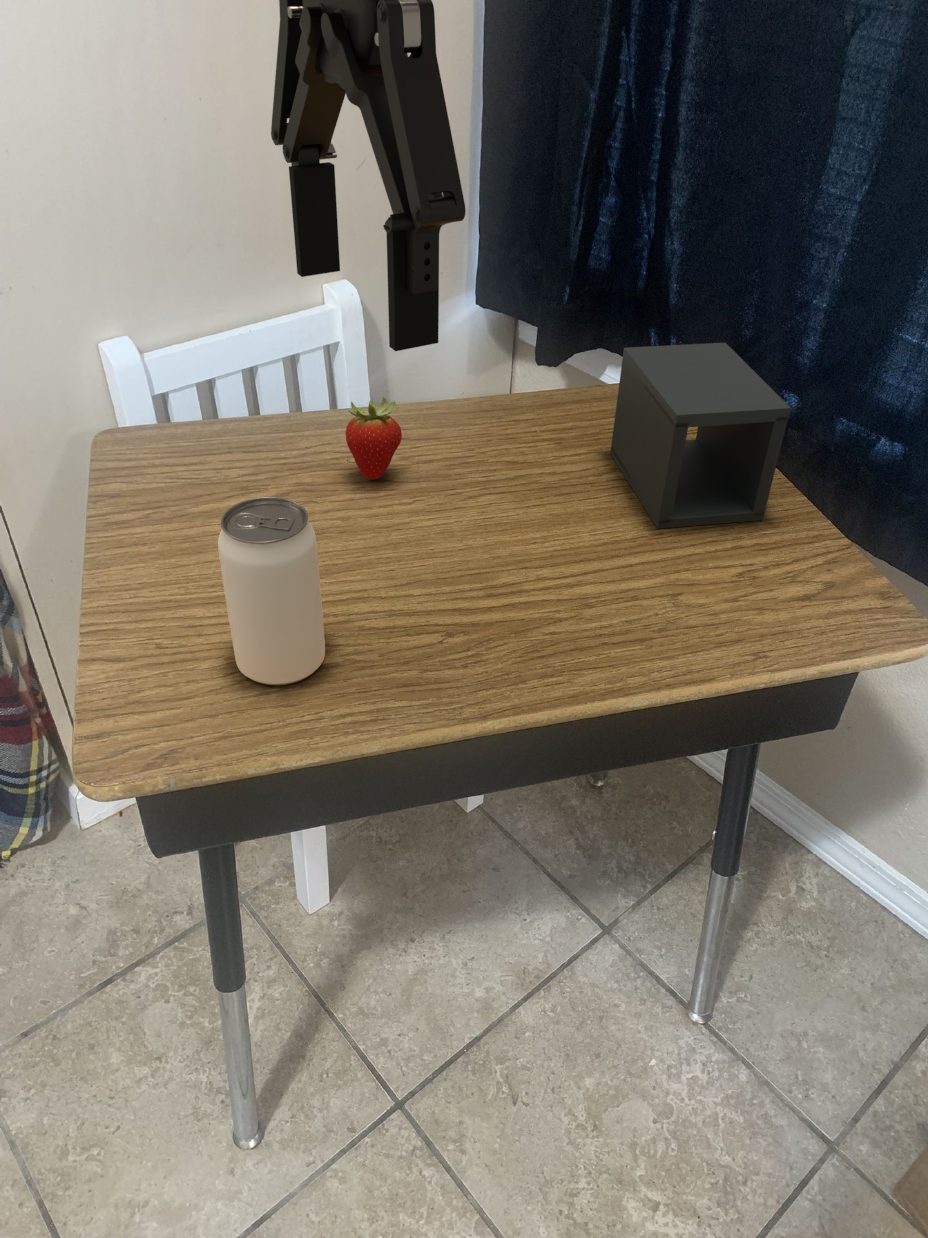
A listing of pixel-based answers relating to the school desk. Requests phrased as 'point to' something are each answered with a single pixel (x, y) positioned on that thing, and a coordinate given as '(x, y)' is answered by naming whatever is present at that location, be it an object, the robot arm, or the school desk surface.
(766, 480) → the shelf
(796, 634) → the school desk surface
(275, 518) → the can
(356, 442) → the fruit
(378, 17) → the robot arm
